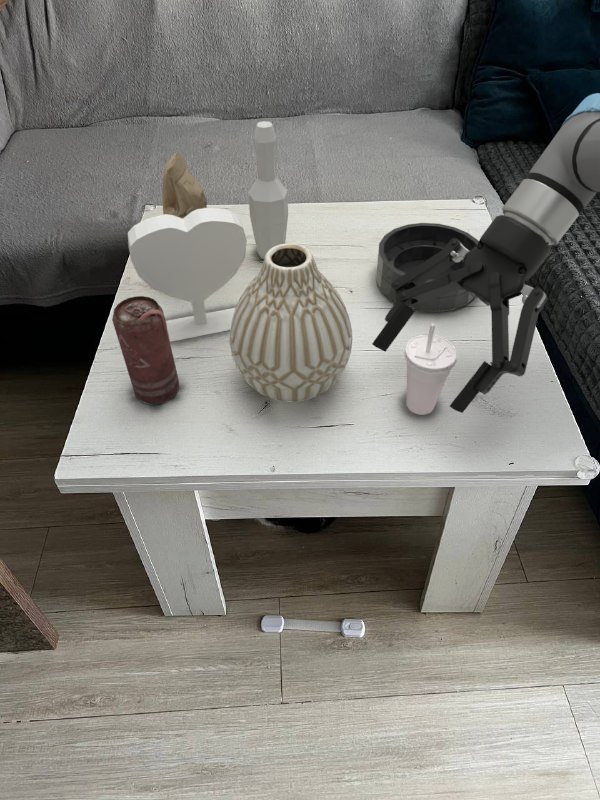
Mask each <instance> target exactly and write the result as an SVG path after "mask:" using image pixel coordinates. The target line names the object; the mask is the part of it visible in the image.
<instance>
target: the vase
mask: <svg viewBox="0 0 600 800" xmlns="http://www.w3.org/2000/svg"><path fill="white" fill-rule="evenodd" d="M234 308H235V311H234V314H233V318H232V322H231V328H230V330H229V349H230V353H231V356H232V360H233V363H234V365H235V367H236V369H237V371H238V372H239V374H240V376H241V377H242V378H243V379H244V381H245V382H246V383H247V384H248V385H249V386H250V387H251V388H252V389H253V390H255V391H256V392H257V393H259V394H260V395H262V396H264V397H266V398H269V399H272V400H275V401H280V402H286V403H297V402H303V401H307V400H310V399H314V398H316V397H318V396H320V395H322V394H323V393H325V392H326V391H328V390H329V389H330V388H331V387H332V386H333V385H334V384H336V383H337V381H338V380H339V378H340V377H341V376H342V374H343V372H344V371H345V369H346V367H347V365H348V362H349V359H350V356H351V352H352V347H353V328H352V324H351V319H350V316H349V313H348V311H347V307H346V304H345V303H344V301H343V299H342V297H341V296H340V294H339V292H338V291H337V289H336V288H335V286H334V285H333V284H332V283H331V282H330V281H329V280H328V278H327V277H326V276H324V274H323V273H321V271H320V270H319V269H318V266H317V264H316V261H315V259H314V256H313V253H312V252H311V250H309V248H307V247H306V246H304V245H302V244H299V243H292V242H291V243H290V242H289V243H288V242H287V243H286V242H285V244H280V245H277V246H275V247H273V248H271V249H270V250H269V251H268V252H267V253H266V256H265V258H264V259H263V262H262V265H261V268H260V270H259V272H258V274H257V275H255V277H254V278H253V279H252V280H251V281H250V283H249V284H248V285H247V287H246V288H245V289H244V291H243V292H242V294H241V296H240V298H239V299H238V301H237V304H236V306H235V307H234Z"/></svg>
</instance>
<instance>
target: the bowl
mask: <svg viewBox="0 0 600 800" xmlns="http://www.w3.org/2000/svg"><path fill="white" fill-rule="evenodd" d="M453 238H456V239H458V240H459V241H460V242H461V244H462V245H463V246H464V247H465V248H466V249H468V250H469V251H470V250H472V249H474V248H475V247H476V246H477V244H478V242H479V239H477V238H476V237H474V236H473V235H471V234H470V233H469V232H466V231H465V230H462V229H459V228H457V227H455V226H452V225H447V224H442V223H436V222H435V223H434V222H418V223H409V224H405V225H402V226H401V225H400V226H398V227H395V228H393V229H392V230H390V231H389V232H387V233H386V234H385V235H383V237H382V238H381V240H380V241H379V242H378V251H377V261H376V262H377V263H376V270H375V282H376V284H377V286H378V288H379V290H380V292H381V293H382V294H384V296H385V297H387V298H388V300H390V301H392V302H394V303H396V301H397V299H398V295H397V293H396V291H395V289H393V288H392V283H393V282H394V281H395V280H397V279H398V278H400V277H401V276H403V275H405V274H406V273H408V272H409V271H411V270H412V269H414V268H415V267H417V266H419V265H420V264H422V263H423V262H425V261H426V260H428V259H429V258H431V257H433V256H434V255H436V254H437V253H439V252H440V251H442V249H443V248H444V247H445V246H446V245H447V244H448V243H449V241H450V240H451V239H453ZM463 260H464V259H462V260H461V261H460V262H455V263H454V264H453V265H452V266H450V267H449V268H447V269H445V270H444V271H442V272H441V273H439V274H437V275H436V276H434V277H433V278H431V279H429V280H428V281H426V282H425V283H427V282H430V281H433V280H436V279H438V278H441V277H444V276H447V275H448V274H449V273H450V272H453V271H455V270H458V269H461V268H463ZM423 284H424V283H423ZM421 285H422V284H421ZM475 298H476V297H474V296H472V295H470V294H469V293H468V292H467V291H466V290H460V291H459V290H456V291H453V292H450V293H447V294H444V295H441V296H438V297H435V298H432V299H429V300H427V301H424V302H421V303H418V304H415V305H412V306H414V307H410V306H409V307H410V308H412V309H413V310H414V311H418V312H419V311H420V312H433V313H438V312H447V311H454V310H457V309H458V308H461V307H464V306H466V305H468V304H469V303H470V302H471V301H473V300H474V299H475Z"/></svg>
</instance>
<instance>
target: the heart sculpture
mask: <svg viewBox="0 0 600 800" xmlns="http://www.w3.org/2000/svg"><path fill="white" fill-rule="evenodd" d="M247 242H248V241H247V235H246V233H245V229H244V227H243V224H242V222H241V219H240V217H239V215H238V214H237V213H235V212H233V211H232V210H229V209H224V208H219V207H215V208H214V207H207V208H203V209H196V210H194V211H192V212H191V213H189V214H188V215H187V216H186V217H184V218H183V219H182V218H179V217H176V216H174V215H168V214H164V215H163V214H157V215H155V216H152V217H148V218H146V219H143V220H142V221H140V222H138V223H136V224H135V225H133V226H132V227H131V228H130V230H128V232H127V243H128V244H127V245H128V252H129V256H130V262H131V263H132V266H133V267H134V270H135V273H136V274H137V276H138V278H140V279H141V280H142V281H143V282H145V284H147V285H148V286H149V287H150V288H151V289H153V290H155V291H157V292H159V293H162V294H164V295H167V296H169V297H170V298H175V299H179V300H182V301H187V302H190V303H191V307H192V314H193V315H189V316H185V317H179V318H173V319H168V320H165V321H166V324H167V330H168V335H169V340H170V343H172V342H176V341H182V340H187V339H191V338H192V339H193V338H196V337H202V336H206V335H211V334H217V333H221V332H226V331H227V332H228V331H230V328H231V322H232V318H233V314H234V311H235V308H236V307H231V308H226V309H221V310H216V311H211V312H206V307H205V300H207V298H209V297H211V296H212V295H213V294H215V293H216V292H217V291H220V289H222V288H223V287H225V285H226V284H227V283H228V282H230V281H231V280H232V279H233V277H235V275H237V274H238V271H239V269H240V267H241V266H242V264H243V262H244V261H245V259H246V252H247Z"/></svg>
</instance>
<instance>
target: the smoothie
mask: <svg viewBox="0 0 600 800" xmlns="http://www.w3.org/2000/svg"><path fill="white" fill-rule="evenodd" d="M435 328H436V323H435V322H430V326H429V330H428V331H429V332H428V334H427V333H425V334H419V335H416V336H413V337H411V338H410V339H409V340H408V341H407V343H406V345H405V347H404V348H405V349H404V352H403V356H404V360H405V361H406V365H405V366H406V367H405V368H406V371H405V373H406V377H405V378H406V382H405V384H406V386H405V387H406V389H405V390H406V407H407V409H408V410H409V411H410V412H411V413H412V414H416V415H420V416H425V415H429V414H431V413H432V412H433V411H434V409H435V407H436V404H437V402H438V400H439V398H440V396H441V393H442V391H443V389H444V386H445V383H446V382H447V379H448V377H449V374H450V372H451V370H452V369H454V367H456V364H457V361H458V360H457V359H458V350H457V348H456V346H455V344H454V343H452V341H450V340H449V339H447V338H446V337H444V336H441V335H438V334H435Z"/></svg>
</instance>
